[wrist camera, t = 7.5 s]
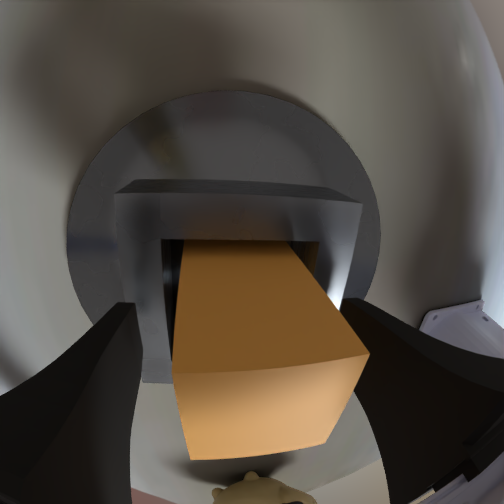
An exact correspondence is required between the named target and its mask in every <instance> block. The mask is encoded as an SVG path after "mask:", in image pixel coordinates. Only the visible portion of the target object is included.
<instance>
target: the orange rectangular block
mask: <svg viewBox="0 0 504 504" xmlns="http://www.w3.org/2000/svg"><path fill="white" fill-rule="evenodd" d="M369 355H370V353H369V351H368V350H367V349H366V347H365V346H364V344H363V343H362V342H361V340H360V339H359V337H358V336H357V335H356V333H355V332H354V331H353V329H352V328H351V326H350V325H349V324H348V322H347V321H346V320H345V318H344V317H343V316H342V314H341V313H340V312H339V310H338V309H337V308H336V306H335V305H334V303H333V302H332V301H331V299H330V298H329V297H328V295H327V294H326V293H325V291H324V290H323V289H322V288H321V286H320V285H319V284H318V282H317V281H316V280H315V278H314V277H313V276H312V274H311V273H310V272H309V270H308V269H307V268H306V267H305V265H304V264H303V263H302V261H301V260H300V259H299V258H298V256H297V255H296V254H295V252H294V251H293V250H292V249H291V247H290V246H289V245H288V243H287V242H286V241H276V240H214V239H185V240H184V247H183V254H182V262H181V270H180V279H179V288H178V297H177V307H176V318H175V329H174V342H173V357H172V378H173V384H174V389H175V394H176V399H177V404H178V409H179V414H180V418H181V423H182V427H183V431H184V435H185V440H186V444H187V448H188V451H189V455H190V459H191V460H209V459H228V458H240V457H250V456H259V455H267V454H273V453H280V452H286V451H291V450H297V449H302V448H307V447H311V446H316V445H320V444H324V443H325V442H326V440H327V438H328V437H329V435H330V433H331V432H332V430H333V428H334V426H335V424H336V423H337V421H338V419H339V417H340V415H341V414H342V412H343V410H344V408H345V406H346V404H347V402H348V400H349V398H350V396H351V394H352V392H353V390H354V388H355V386H356V384H357V382H358V380H359V377H360V375H361V373H362V371H363V369H364V366H365V364H366V362H367V360H368V357H369Z"/></svg>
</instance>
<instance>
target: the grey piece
mask: <svg viewBox="0 0 504 504" xmlns="http://www.w3.org/2000/svg"><path fill="white" fill-rule="evenodd" d="M380 236H381V232H380V216H379V211H378V206H377V201H376V196H375V193H374V191H373V188H372V185H371V182H370V179H369V177H368V175H367V173H366V171H365V169H364V168H363V166H362V164H361V162H360V160H359V159H358V157H357V156H356V155H355V153H354V152H353V151H352V149H351V148H350V147H349V145H348V144H347V143H346V142H345V141H344V140H343V139H342V138H341V137H340V136H339V135H338V134H337V133H336V132H335V131H334V130H333V129H332V128H331V127H330V126H328V125H327V124H326V123H324V122H323V121H322V120H320V119H319V118H318V117H316V116H315V115H313V114H312V113H310V112H308V111H306V110H304V109H302V108H300V107H298V106H296V105H294V104H292V103H290V102H287V101H284V100H281V99H278V98H275V97H272V96H269V95H264V94H258V93H252V92H246V91H211V92H204V93H198V94H191V95H188V96H184V97H181V98H178V99H175V100H172V101H168V102H166V103H163V104H161V105H159V106H157V107H155V108H153V109H151V110H149V111H147V112H145V113H143V114H142V115H140V116H139V117H137V118H136V119H134V120H133V121H131V122H130V123H129V124H127V125H126V126H125V127H123V128H122V129H121V130H120V131H119V132H117V133H116V134H115V135H114V136H113V137H112V138H111V139H110V140H109V141H108V142H107V143H106V144H105V145H104V146H103V148H102V149H101V150H100V151H99V153H98V154H97V155H96V157H95V158H94V160H93V161H92V162H91V164H90V165H89V167H88V168H87V170H86V172H85V174H84V176H83V178H82V180H81V182H80V184H79V186H78V188H77V191H76V194H75V197H74V200H73V203H72V206H71V210H70V215H69V221H68V227H67V258H68V266H69V271H70V275H71V279H72V283H73V286H74V289H75V292H76V294H77V296H78V299H79V301H80V303H81V306H82V307H83V309H84V311H85V312H86V314H87V316H88V317H89V319H90V321H91V322H92V323H93V325H95V324H96V323H97V322H98V321H99V320H100V319H101V318H102V317H103V316H104V315H105V314H106V313H107V312H108V311H109V310H110V309H111V308H112V307H113V306H114V305H115V304H116V303H117V302H132V303H135V305H136V311H137V317H138V323H139V329H140V334H141V340H142V345H143V361H142V372H141V378H142V381H143V383H167V384H173V378H172V357H173V342H174V329H175V318H176V307H177V297H178V288H179V279H180V270H181V262H182V254H183V247H184V240H185V239H214V240H276V241H286V242H287V243H288V245H289V246H290V247H291V249H292V250H293V251H294V252H295V254H296V255H297V256H298V258H299V259H300V260H301V261H302V263H303V264H304V265H305V267H306V268H307V269H308V270H309V272H310V273H311V274H312V276H313V277H314V278H315V280H316V281H317V282H318V284H319V285H320V286H321V288H322V289H323V290H324V291H325V293H326V294H327V295H328V297H329V298H330V299H331V301H332V302H333V303H334V305H335V306H336V308H337V309H338V310H339V312H340V308H341V305H342V301H343V298H356V297H357V298H360V299H362V300H364V298H365V296H366V294H367V292H368V290H369V288H370V285H371V282H372V279H373V276H374V273H375V270H376V266H377V261H378V256H379V250H380Z"/></svg>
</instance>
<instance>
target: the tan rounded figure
mask: <svg viewBox="0 0 504 504" xmlns="http://www.w3.org/2000/svg"><path fill="white" fill-rule="evenodd" d="M212 496H213V498H214V502H213V504H317V502H316V500H315V499H314V498H313V497H312V496H311V495H309V494H306V493H304V492H302V491H299V490H297V489H294V488H291V487H289V486H286V485H285V484H284V483H282V482H280V481H278V480H276V479H272V478H267V477H259V476H258V475H257V473H255V472H253V471H250V472H247V473H246V475H245V477H244V480H242V481H240V482H237V483H235V484H232V485H230V486H229V487H227V488H226V489H221V488H215V489H213V490H212Z"/></svg>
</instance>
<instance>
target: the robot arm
mask: <svg viewBox="0 0 504 504" xmlns="http://www.w3.org/2000/svg"><path fill="white" fill-rule="evenodd" d="M484 304H485V302H484V301H483V300H479V301H475V302H470V303H466V304H462V305H457V306H452V307H448V308H443V309H438V310H433V311H429V312H428V313H427V314H426V315H425V317H424V320H423V322H422V324H421V327H420V329H419V330H418V329H416V328H414V327H412V326H410V325H408V324H406V323H404V322H403V321H401V320H399V319H397V318H396V317H394V316H392V315H390V314H388V313H387V312H385V311H383V310H381V309H380V308H378V307H376V306H374V305H372V304H370V303H368V302H366V301H364V300H362V299H360V298H357V297H356V298H343V301H342V305H341V308H340V313H341V314H342V316H343V317H344V318H345V320H346V321H347V322H348V324H349V325H350V326H351V328H352V329H353V331H354V332H355V333H356V335H357V336H358V337H359V339H360V340H361V342H362V343H363V344H364V346H365V347H366V349H367V350H368V351H369V353H370V355H369V357H368V360H367V362H366V364H365V366H364V369H363V371H362V373H361V375H360V377H359V380H358V382H357V384H356V386H355V388H354V390H353V391H354V392H355V394H356V396H357V398H358V400H359V401H360V403H361V405H362V407H363V409H364V411H365V413H366V415H367V417H368V420H369V422H370V425H371V428H372V430H373V433H374V436H375V439H376V442H377V445H378V448H379V451H380V454H381V458H382V462H383V466H384V470H385V474H386V479H387V484H388V490H389V498H390V504H410V503H412V502H414V501H415V500H417V499H419V498H420V497H422V496H424V495H425V494H427V493H429V492H430V491H432V490H433V489H434V491H435V493H434V494H432V495H431V496H429V497H428V498H426V499H424V500H423V501H421V502H420V503H418V504H504V329H503V328H502V327H501V326H500V325H498V324H497V323H496V322H495V321H494V320H493V319H491V318H490V317H489V316H488V315H487V314H485V313H484V312H483V311H482V309H483V307H484ZM142 361H143V345H142V340H141V334H140V329H139V323H138V317H137V311H136V305H135V303H132V302H117V303H116V304H115V305H114V306H113V307H112V308H111V309H110V310H109V311H108V312H107V313H106V314H105V315H104V316H103V317H102V318H101V319H100V320H99V321H98V322H97V323H96V324H95V325H93V326H92V327H91V328H90V329H89V330H88V331H87V332H86V333H85V334H84V335H83V336H82V337H81V338H80V339H79V340H78V341H76V342H75V343H74V344H73V345H72V346H71V347H70V348H69V349H68V350H66V351H65V352H64V353H63V354H62V355H61V356H60V357H58V358H57V359H56V360H55V361H53V362H52V363H51V364H49V365H48V366H47V367H45V368H44V369H43V370H41V371H40V372H39V373H37V374H36V375H34V376H33V377H31V378H30V379H28V380H26V381H25V382H23V383H22V384H20V385H18V386H17V387H15V388H14V389H12V390H10V391H8V392H7V393H5V394H3V395H1V396H0V504H132V499H131V486H130V436H131V427H132V421H133V416H134V410H135V405H136V399H137V394H138V389H139V384H140V379H141V372H142Z"/></svg>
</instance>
